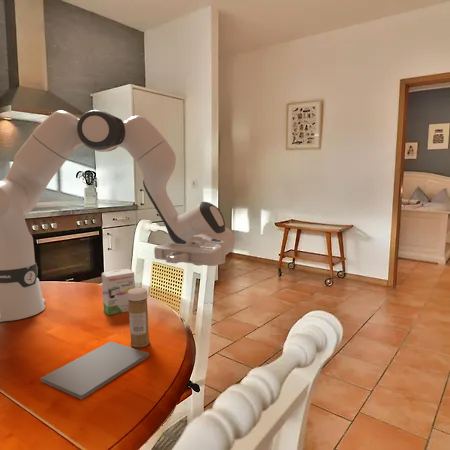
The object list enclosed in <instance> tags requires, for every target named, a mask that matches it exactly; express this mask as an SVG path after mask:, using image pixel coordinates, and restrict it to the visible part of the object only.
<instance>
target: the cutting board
mask: <svg viewBox="0 0 450 450" xmlns="http://www.w3.org/2000/svg"><path fill="white" fill-rule="evenodd" d="M149 357H150V353H149V352H147V351H145V350H144V351H143V350H140V349H138V348H135V347H132V346H129V345H128V346H127V345H124V344H120V343H117V342H114V341H111V340H110V341H108V342H106V343H105V344H104V343H103V345H101V346H99V347H97V348H95V349H93V350H91V351H89V352H87V353H86V354H84V355H82V356H80V357H78V358H76V359H74V360H72V361H70V362H68V363H66V364H64V365H63V366H61V367H58V368H56V369H55V370H52V371H51V372H49V373H47V374H45V375H43V376H41V377H40V383H43V384H45V385H48V386H49V387H52V388H54V389H57V390H59V391H61V392H64V393H66V394H68V395H70V396H73V397H75V398H77V399H79V400H85V398H86V397H88V396H90V395H91V394H93V393H95V392H96V391H97V390H99V389H101V388H102V387H104V386H105V385H107V384H109V383H110V382H112V381H113V380H114V379H116V378H118V377H119V376H122V374H124V373H126V372H127V371H128V370H129V371H130V370H131V369H132V368H133V367H135V366H137V365H138V364H140V363H141V362H143V361H145V360H146V359H147V358H149Z"/></svg>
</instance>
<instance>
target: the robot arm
mask: <svg viewBox="0 0 450 450" xmlns="http://www.w3.org/2000/svg"><path fill="white" fill-rule="evenodd" d="M81 146H85V147H87V148H89V149H91V150H92V151H96V152H99V153H100V152H101V153H104V152H111V151H115V149H117V148H123V149H124V150H126V151H127V152H128V153H129V155H130V156H131V157H132V159H134V161H135V162H136V164H137V165H138V167H139V168H140V170H141V173H142V176H143V181H142V184H143V188H144V191H145V192H146V195H147V197H148V198H149V199H150V202H151V204H152V205H153V207H154V209H155V211H156V212H157V214H158V215H159V217H160V219H161V221H162V222H163V224H164V226H165V229H166V230H167V234H168V236H169V237H170V239H171V241H172V242H173V243H172V242H171V243H164V244H160V245H157V246H155V247H154V251H153V253H154V259H156V260H162V261H165V262H166V263H167V264H168V263H169V264H178V263H186V264H193V265H195V266H199V267H200V266H209V267H214V266H215V267H216V266H218V265H223V264H225V263H226V255H228V254H229V253H230V252H231V251H232V250H233V249H234V246H235V243H236V238H235V237H236V236H235V235H234V233H233V232H232V230H230V228H228V227H226V225H225V219H224V216H223V212H221V210H220V209H219V208H218V207H217V206H216V205H214V204H213V203H211V202H208V201H202V202H199V203H198V204H196V205H195V206H193V207H191V208H190V209H189V210H187V211H185V212H184V213H182V214H180V213H178V211H177V210H176V208H175V206H174V204H173V203H172V200H171V198H170V197H169V195H168V193H167V185H168V182H169V180H170V179H171V176H172V174H173V173H174V170H175V168H176V163H177V158H176V154H175V151H174V149H173V148H172V146H171V145H170V144H169V142H168V140H166V138H165V137H164V136H163V134H162V133H161V132H160V131H159V130H158V128H156V127H155V125H153V123H152V122H151V121H150V120H149V119H148V118H146V117H144V116H143V115H139V114H138V115H137V114H136V115H133V116H130V117H129V118H126V119H125V120H123V119H122V118H119V117H117V116H115V115H113V114H111V113H108V112H107V111H103V110H99V109H91V110H89V111H87V112H85V113H83V114H82V115H81V116H80V118H79V117H77V116H76V115H74V114H72V113H71V112H68V111H66V110H56V111H54V112H53V113H51V114H50V115H49V116H48V117H46V119H44V120H43V121H42V122H41V123H40V124H39V125H38V126H37V127H36V128H35V129H34V131H33V132H32V133H31V134H30V136H28V138H27V140H25V142H24V143H23V144H22V146H21V147H20V148H19V149H18V150H17V152H16V153H15V154H14V156H13V162H12V164H11V167H10V168H9V171H8V172H7V173H6V175H5V176H4V178H2V179H1V180H0V323H2V322H11V321H18V320H22V319H26V318H29V317H32V316H35V315H38V314H40V313H41V312H43V311H44V310H45V309H46V306H45V303H46V299H45V298H43V292H42V286H41V282H40V279H39V278H38V274H39V272H38V269H39V268H38V265H37V264H38V263H37V262H36V259H35V258H36V257H35V246H34V238H33V235H32V234H31V232H30V230H29V228H28V225H27V222H26V218H25V215H28V214H29V213H30V212H32V210H33V209H34V208H35V207H36V206H37V204H38V201H40V199H41V197H42V195H43V194H44V192H45V191H46V188H47V187H48V185H49V183H50V182H51V180H52V179H53V178H54V176H55V175H56V174H57V173H58V171H59V170H60V169H61V168H62V166H63V165H64V164H65V162H66V161H67V160H68V159H69V158H70V156H71V155H72V154H73V153H74V151H76V149H78V148H79V147H81Z"/></svg>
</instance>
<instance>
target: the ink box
mask: <svg viewBox="0 0 450 450" xmlns="http://www.w3.org/2000/svg"><path fill="white" fill-rule="evenodd" d="M135 282H136V280H135V272H134V271H132V269H130V268H125V269H124V268H123V269H117V270H116V269H115V270H110V271H108V270H107V271H104V272H102V273H101V285H102V286H101V287H102V302H103V311H104V313H105V314H107V316H112V315H117V314H121V313H125V312H129V301H128V294H127V292H128V291H129V290H130V289H133V288H136V284H135Z"/></svg>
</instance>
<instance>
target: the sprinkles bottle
mask: <svg viewBox="0 0 450 450" xmlns="http://www.w3.org/2000/svg"><path fill="white" fill-rule="evenodd" d="M127 294H128V301H129V311H128V315H129V316H128V317H129V333H130V334H129V335H130V347H131V348H134V349H140V348H144V347H147V346H148V345H149V344H150V342H151V341H150V333H149V331H150V326H149V325H150V324H149V313H148V310H149V309H148V296H149V295H148V289H147V288H145V287H135V288H133V289H130V290H129V291H128V292H127Z"/></svg>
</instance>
